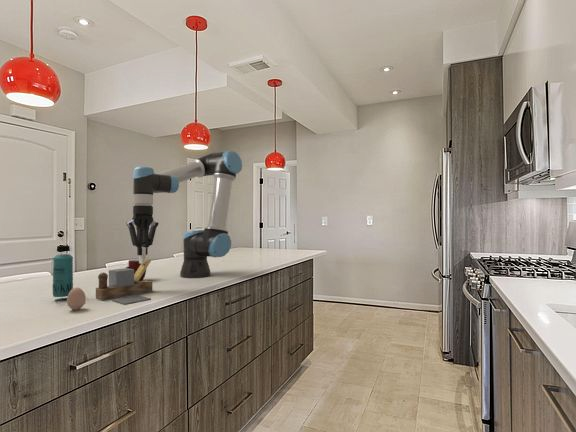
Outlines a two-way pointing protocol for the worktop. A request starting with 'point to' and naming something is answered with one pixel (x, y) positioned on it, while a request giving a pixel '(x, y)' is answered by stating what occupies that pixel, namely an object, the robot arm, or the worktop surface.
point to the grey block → (121, 277)
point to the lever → (141, 271)
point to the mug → (136, 267)
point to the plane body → (120, 289)
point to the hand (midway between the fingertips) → (142, 263)
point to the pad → (131, 299)
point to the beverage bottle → (62, 273)
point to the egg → (76, 298)
